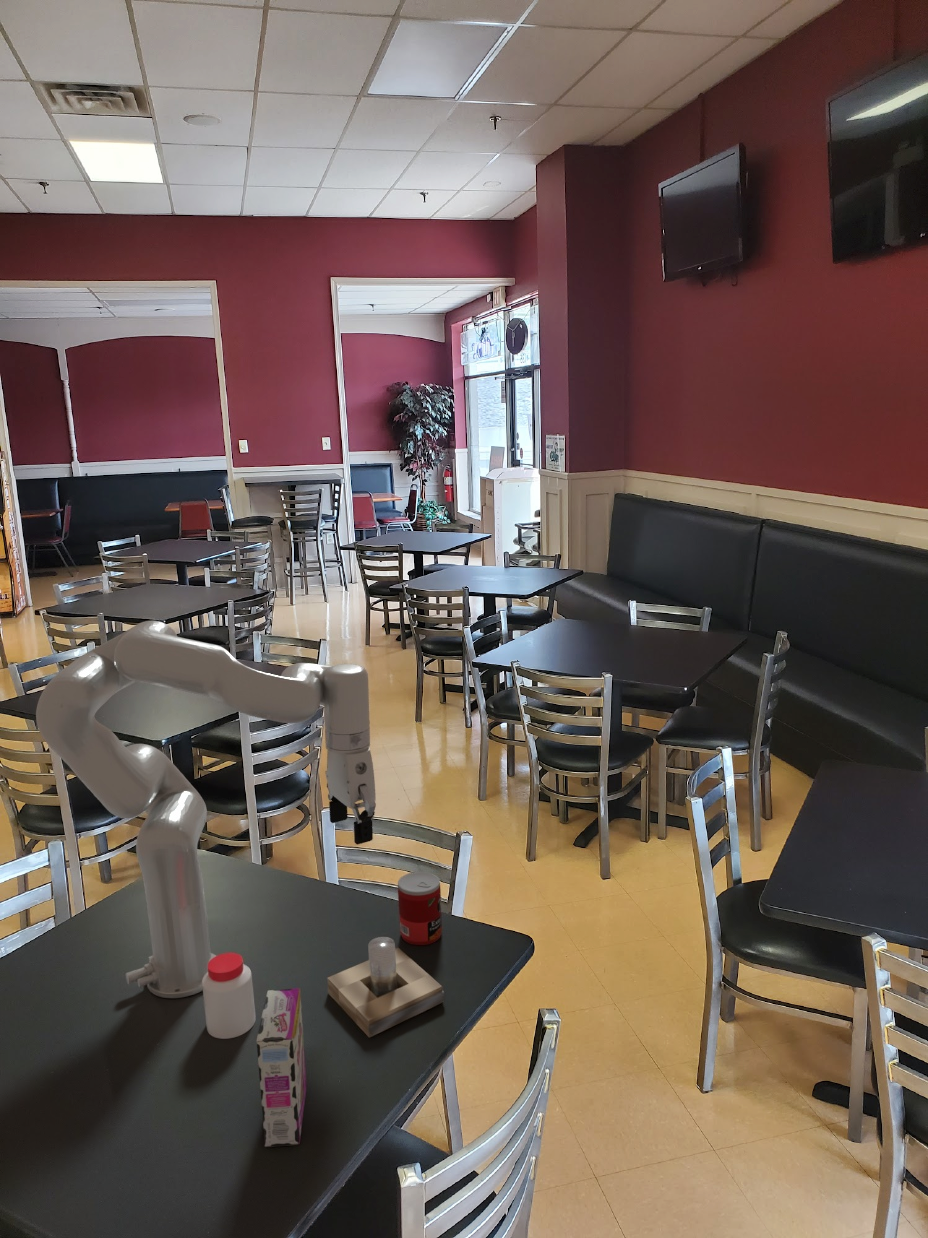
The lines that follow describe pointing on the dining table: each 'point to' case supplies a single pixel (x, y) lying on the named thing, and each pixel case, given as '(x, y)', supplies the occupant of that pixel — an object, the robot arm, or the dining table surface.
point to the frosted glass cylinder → (382, 966)
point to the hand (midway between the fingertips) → (350, 831)
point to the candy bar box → (282, 1067)
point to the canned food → (420, 908)
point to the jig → (392, 1007)
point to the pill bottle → (228, 996)
